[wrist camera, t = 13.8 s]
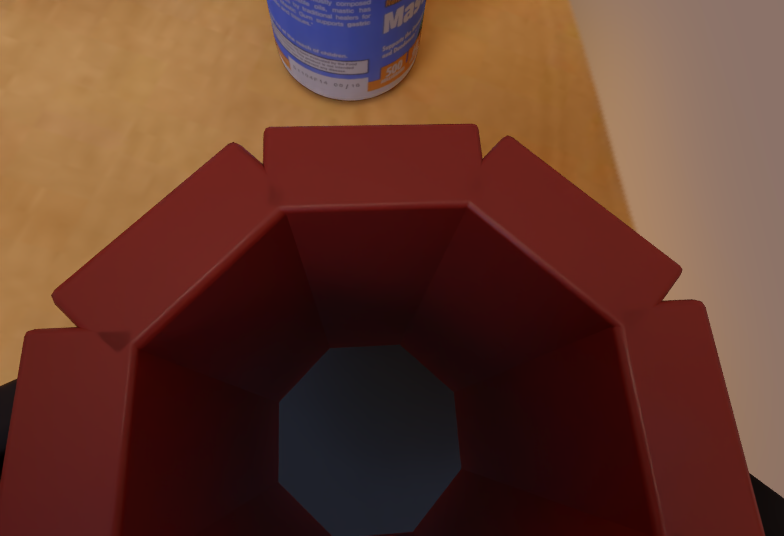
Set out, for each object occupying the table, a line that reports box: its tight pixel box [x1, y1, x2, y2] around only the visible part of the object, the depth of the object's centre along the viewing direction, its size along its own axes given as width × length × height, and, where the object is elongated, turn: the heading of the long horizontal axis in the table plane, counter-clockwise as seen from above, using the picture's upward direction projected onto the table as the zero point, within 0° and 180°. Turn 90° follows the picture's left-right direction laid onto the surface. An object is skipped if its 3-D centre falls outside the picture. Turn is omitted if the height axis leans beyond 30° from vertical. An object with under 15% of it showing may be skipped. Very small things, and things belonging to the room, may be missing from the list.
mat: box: [278, 345, 461, 536], centre depth 15 cm, size 8×8×1 cm
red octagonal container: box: [0, 124, 765, 536], centre depth 8 cm, size 6×6×8 cm
